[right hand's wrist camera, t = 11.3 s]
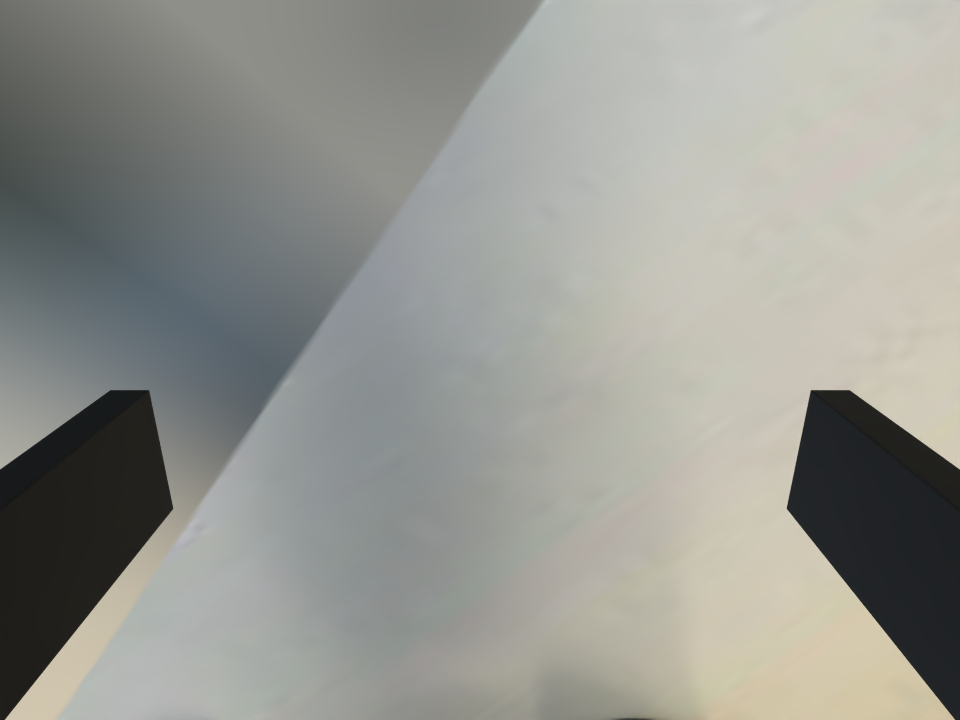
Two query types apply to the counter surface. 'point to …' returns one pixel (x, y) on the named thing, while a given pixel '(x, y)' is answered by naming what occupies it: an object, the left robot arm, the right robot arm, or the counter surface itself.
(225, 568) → the counter surface
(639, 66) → the counter surface
